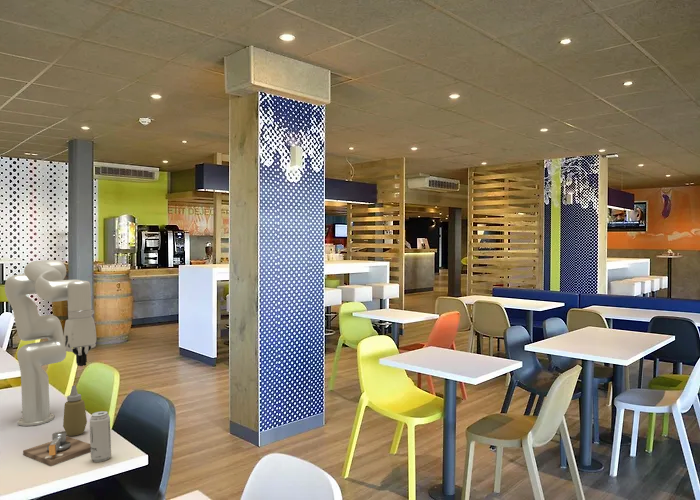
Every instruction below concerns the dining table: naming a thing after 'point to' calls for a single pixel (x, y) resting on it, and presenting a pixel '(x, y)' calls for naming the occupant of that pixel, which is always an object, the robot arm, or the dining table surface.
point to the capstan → (58, 443)
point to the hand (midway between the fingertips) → (81, 365)
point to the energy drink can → (100, 436)
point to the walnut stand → (72, 452)
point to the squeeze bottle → (74, 414)
